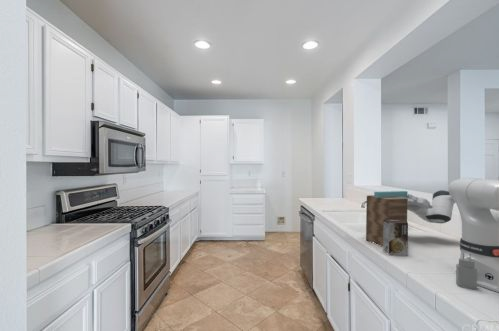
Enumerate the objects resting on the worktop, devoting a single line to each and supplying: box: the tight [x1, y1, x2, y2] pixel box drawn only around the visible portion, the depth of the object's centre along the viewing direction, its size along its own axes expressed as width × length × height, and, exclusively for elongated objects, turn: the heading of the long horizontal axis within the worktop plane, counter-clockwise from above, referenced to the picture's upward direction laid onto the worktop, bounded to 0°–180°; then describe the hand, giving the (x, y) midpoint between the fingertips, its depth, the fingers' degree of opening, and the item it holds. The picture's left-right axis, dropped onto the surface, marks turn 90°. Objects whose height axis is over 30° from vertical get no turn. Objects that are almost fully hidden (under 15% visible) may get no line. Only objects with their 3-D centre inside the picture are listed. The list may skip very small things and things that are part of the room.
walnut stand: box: [365, 194, 408, 247], centre depth 136 cm, size 16×12×26 cm
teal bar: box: [373, 190, 409, 198], centre depth 137 cm, size 3×21×3 cm, turn 108°
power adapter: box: [455, 253, 478, 291], centre depth 89 cm, size 3×5×12 cm, turn 62°
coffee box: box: [382, 220, 409, 257], centre depth 122 cm, size 9×6×16 cm
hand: (401, 194), depth 140 cm, fingers open, 8 cm apart
